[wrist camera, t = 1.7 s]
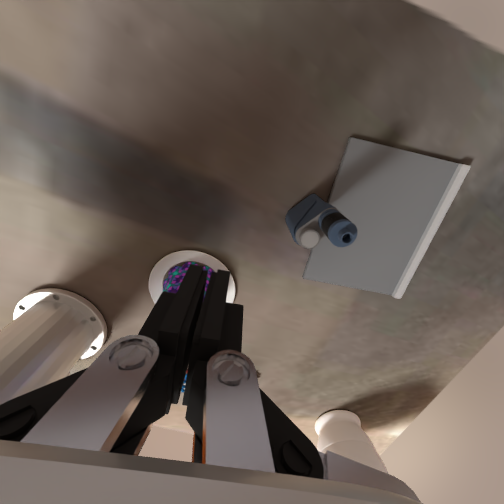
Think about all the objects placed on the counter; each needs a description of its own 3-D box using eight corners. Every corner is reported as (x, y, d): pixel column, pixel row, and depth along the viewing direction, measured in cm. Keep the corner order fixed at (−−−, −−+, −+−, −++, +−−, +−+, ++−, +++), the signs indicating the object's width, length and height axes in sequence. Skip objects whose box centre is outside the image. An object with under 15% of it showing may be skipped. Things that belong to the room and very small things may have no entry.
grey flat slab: (396, 294, 37) (400, 298, 36) (302, 276, 36) (304, 280, 35) (463, 165, 30) (471, 166, 29) (349, 137, 29) (353, 137, 27)
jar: (301, 435, 50) (320, 548, 36) (320, 400, 46) (351, 511, 32) (351, 443, 51) (388, 555, 37) (374, 410, 47) (426, 521, 33)
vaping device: (327, 205, 32) (369, 241, 21) (292, 230, 33) (313, 276, 22) (316, 188, 31) (353, 216, 20) (280, 215, 32) (296, 255, 21)
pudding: (142, 307, 38) (127, 332, 33) (160, 235, 33) (145, 252, 29) (220, 329, 40) (216, 356, 35) (247, 264, 35) (247, 284, 30)
